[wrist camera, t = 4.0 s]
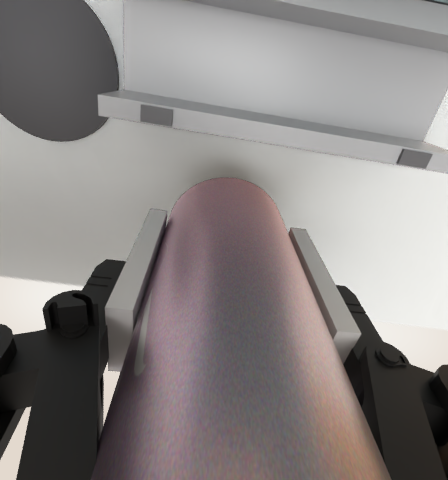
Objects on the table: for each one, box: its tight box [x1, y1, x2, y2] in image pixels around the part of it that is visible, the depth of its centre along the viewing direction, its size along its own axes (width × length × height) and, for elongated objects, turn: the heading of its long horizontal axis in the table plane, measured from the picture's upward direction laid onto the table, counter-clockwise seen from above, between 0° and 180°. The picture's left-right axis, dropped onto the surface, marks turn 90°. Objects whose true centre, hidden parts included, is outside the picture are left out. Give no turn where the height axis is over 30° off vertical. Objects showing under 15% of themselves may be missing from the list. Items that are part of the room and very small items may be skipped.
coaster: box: [0, 0, 119, 142], centre depth 19 cm, size 9×9×1 cm
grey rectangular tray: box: [98, 0, 448, 174], centre depth 16 cm, size 20×7×5 cm, turn 81°
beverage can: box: [91, 177, 391, 480], centre depth 10 cm, size 6×6×15 cm
